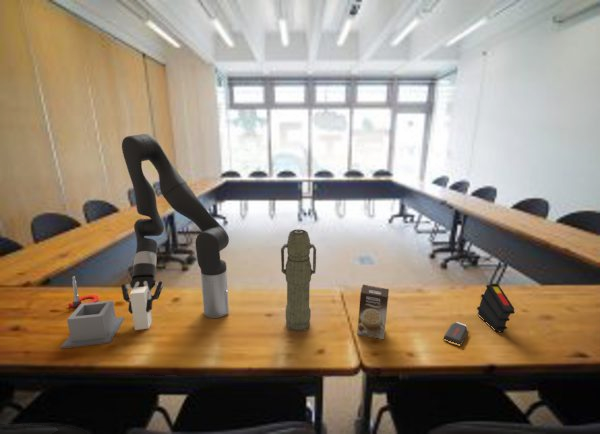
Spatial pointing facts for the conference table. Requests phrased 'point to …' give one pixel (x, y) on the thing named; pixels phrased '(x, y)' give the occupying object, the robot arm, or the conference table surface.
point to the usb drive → (456, 333)
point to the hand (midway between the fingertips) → (139, 312)
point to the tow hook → (78, 300)
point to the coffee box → (372, 311)
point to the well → (92, 324)
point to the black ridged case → (495, 307)
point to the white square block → (140, 308)
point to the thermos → (298, 279)
